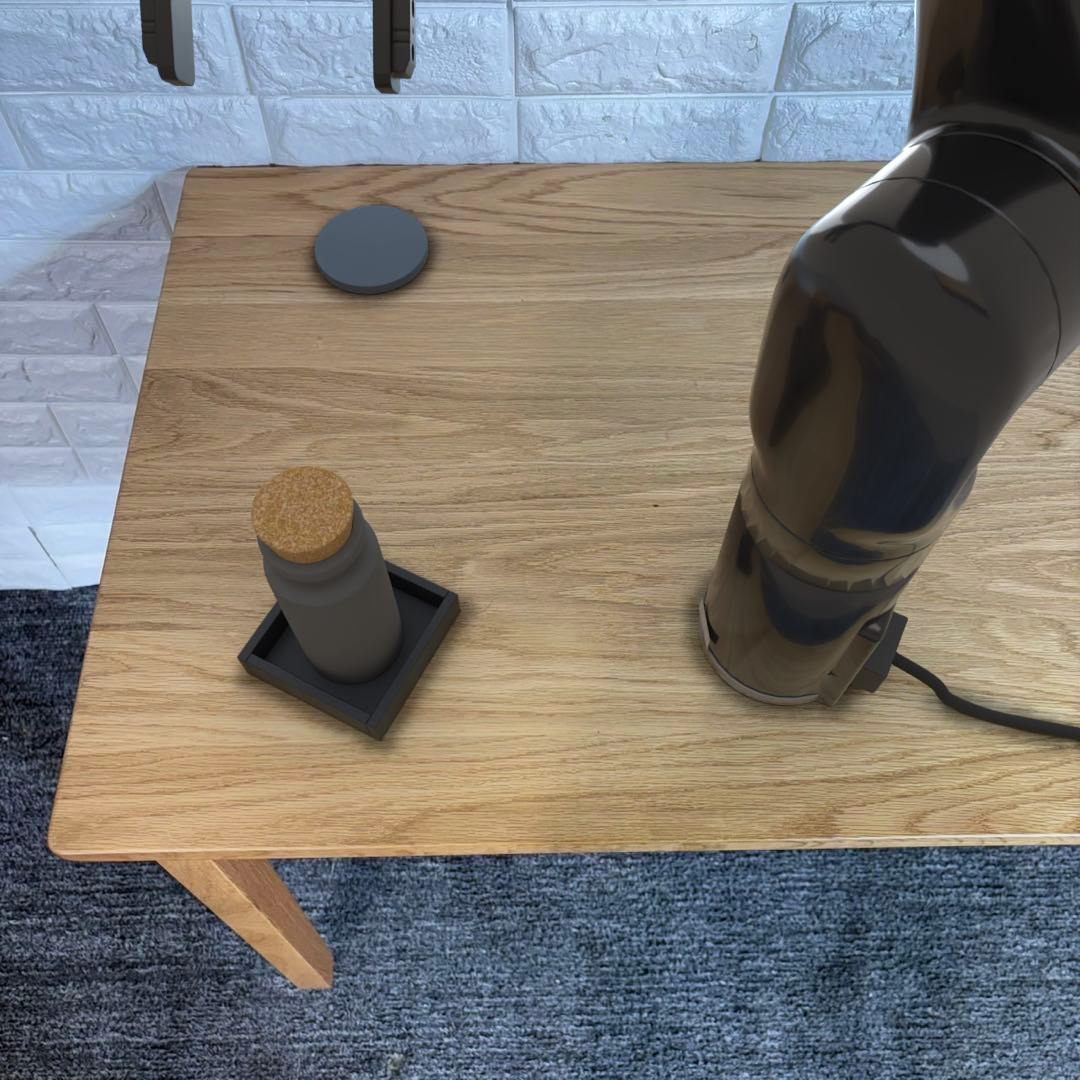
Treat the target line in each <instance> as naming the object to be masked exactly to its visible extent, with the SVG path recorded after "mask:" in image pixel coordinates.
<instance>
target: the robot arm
mask: <svg viewBox="0 0 1080 1080" xmlns="http://www.w3.org/2000/svg"><path fill="white" fill-rule="evenodd" d="M192 7H193V5H192V0H139V13H140V22H141V23H140V29H141V45H142V51H143V54H144V56H145V58H146V61H147V63H148V64H149V65H151V66H154V67H155V68H157V73H158V76H159V78H160V79H161V81H163V82H165V83H168V84H169V85H172V86H173V87H174V86H175V87H194V85H195V84H196V83H195V82H196V67H195V50H194V47H195V46H194V27H193V9H192ZM416 39H417V0H372V77H373V78H372V80H373V85H374V88H375V90H376V91H378V92H379V93H380V94H381V95H400V92H401V80H402V79H403V80H411V79H412V77H413V74H414V71H415V69H416V66H417V51H416V49H417V41H416ZM913 45H914V46H913V69H912V70H913V71H912V81H911V82H912V84H911V97H910V104H909V112H908V118H907V125H906V130H905V134H904V138H903V142H902V145H901V147H900V149H899V152H898V153H897V156H896V157H894V158H893V159H892V160H891V161H889V162H888V163H887V164H886V165H884V166H883V167H882V168H880V170H878V171H877V172H875V173H874V174H873V175H872V176H871V177H870V178H868V179H867V180H866V181H865V182H863V183H862V184H861V185H860V186H859V187H857V188H856V189H855V190H854V191H853V192H851V193H850V194H848V195H847V196H846V197H845V198H844V199H843V200H841V201H840V202H839V203H838V204H837V205H835V206H833V208H832V209H830V210H829V211H828V212H827V213H825V214H824V215H823V216H821V217H820V218H819V219H818V220H817V221H815V222H814V223H813V224H812V225H811V226H810V227H809V228H808V229H807V230H806V231H805V232H804V233H803V235H802V236H801V237H800V238H799V240H798V241H797V242H796V243H795V245H794V246H793V248H792V250H791V251H790V254H789V255H788V257H787V259H786V260H785V263H784V264H783V267H782V269H781V270H780V273H779V276H778V279H777V281H776V284H775V287H774V290H773V293H772V295H771V300H770V302H769V303H770V304H769V307H768V310H767V315H766V319H765V322H764V323H765V324H764V328H763V332H762V337H761V340H760V346H759V349H758V350H759V351H758V355H757V360H756V365H755V370H754V374H753V379H752V382H751V389H750V393H749V400H748V402H749V403H748V416H749V417H748V419H749V427H750V431H751V436H752V439H753V445H752V447H751V450H750V451H751V452H750V453H749V458H748V460H747V464H746V467H745V470H744V473H743V476H742V480H741V483H740V486H739V489H738V492H737V495H736V498H735V502H734V504H733V508H732V510H731V514H730V518H729V520H728V524H727V527H726V530H725V532H724V536H723V540H722V542H721V546H720V549H719V551H718V555H717V558H716V562H715V565H714V568H713V570H712V574H711V576H710V577H711V578H710V581H709V583H708V586H707V588H706V589H705V593H704V595H703V596H702V598H701V599H700V602H699V605H698V609H699V611H698V617H697V632H698V638H699V643H700V646H701V648H702V649H701V650H702V651H703V653H704V655H705V657H706V660H707V661H708V663H709V665H710V666H711V667H712V669H713V670H714V671H715V673H716V674H717V675H718V676H719V677H720V678H721V679H722V680H723V681H724V682H725V683H726V684H728V685H729V686H730V687H732V688H733V689H734V690H736V691H737V692H739V693H741V694H743V695H745V696H746V697H749V698H751V699H753V700H755V701H759V702H761V703H766V704H771V705H778V706H797V705H804V704H807V703H810V702H814V701H815V702H818V703H821V704H824V705H826V706H829V707H835V705H836V704H838V702H839V700H840V698H841V697H842V696H843V694H844V693H845V692H846V690H847V689H848V688H849V686H850V685H852V686H854V687H856V688H858V689H861V690H863V691H865V692H867V693H869V694H873V695H874V694H875V693H876V691H878V690H879V688H880V687H881V685H882V684H883V683H884V682H885V681H886V679H887V678H888V676H889V673H890V670H891V668H892V666H893V667H896V668H897V669H899V670H901V671H903V672H904V673H906V674H908V675H909V676H911V677H913V678H915V679H917V680H918V681H919V682H921V683H922V684H924V685H925V686H927V687H928V688H929V689H931V690H932V691H933V692H934V694H935V695H936V697H937V699H938V700H939V701H940V702H941V704H943V705H945V706H947V707H949V708H951V709H953V710H955V711H957V712H959V713H962V714H964V715H966V716H969V717H972V718H975V719H978V720H980V721H981V720H982V721H985V722H989V723H991V724H995V725H999V726H1003V727H1006V728H1007V727H1008V728H1012V729H1015V730H1022V731H1026V732H1033V733H1037V734H1042V735H1047V736H1053V737H1058V738H1064V739H1067V740H1073V741H1079V742H1080V726H1074V725H1069V724H1065V723H1058V722H1053V721H1047V720H1042V719H1037V718H1032V717H1026V716H1020V715H1017V714H1011V713H1008V712H1003V711H998V710H995V709H991V708H988V707H984V706H982V705H979V704H976V703H974V702H971V701H968V700H966V699H963V698H962V697H960V696H957V695H955V694H953V693H952V692H950V690H949V688H948V687H947V685H946V684H945V683H944V681H942V679H940V678H939V677H938V676H937V675H935V674H934V673H933V672H931V671H930V670H928V669H927V668H925V667H923V666H921V665H920V664H918V663H917V662H915V661H913V660H911V659H910V658H908V657H906V656H904V655H903V654H901V653H899V652H898V648H899V645H900V643H901V640H902V638H903V635H904V632H905V629H906V626H907V624H908V621H909V617H908V616H906V615H903V614H901V613H898V612H897V611H895V608H896V605H897V603H898V600H899V598H900V597H901V595H902V594H903V592H904V591H905V590H906V588H907V587H908V585H909V584H910V582H911V580H912V579H913V578H914V576H915V575H916V573H917V572H918V570H919V569H920V568H921V566H922V565H923V563H924V562H925V560H926V559H927V558H928V556H929V555H930V553H931V551H932V550H933V548H934V547H935V546H936V544H937V543H938V541H939V540H940V539H941V537H942V536H943V534H944V533H945V531H946V530H947V529H948V528H949V527H950V525H951V524H952V522H953V521H954V520H955V518H956V517H957V515H958V514H959V512H960V511H961V510H962V508H963V507H964V505H965V504H966V503H967V501H968V499H969V497H970V495H971V492H972V491H973V489H974V486H975V483H976V479H977V475H978V467H979V464H980V463H981V461H982V459H983V458H984V456H985V455H986V454H987V452H988V451H989V449H990V448H991V446H993V443H994V442H995V441H996V439H997V438H998V436H999V435H1000V434H1001V432H1002V431H1003V429H1005V427H1006V425H1007V424H1008V423H1009V422H1010V420H1011V419H1012V418H1013V416H1014V415H1015V414H1016V413H1017V412H1018V410H1019V409H1020V408H1021V407H1022V406H1023V405H1024V404H1025V403H1026V402H1027V400H1028V399H1029V398H1030V397H1031V396H1032V395H1033V394H1034V393H1035V392H1036V391H1037V390H1038V389H1039V388H1040V387H1041V386H1042V385H1043V384H1044V383H1045V382H1046V381H1047V380H1048V379H1049V377H1051V376H1052V375H1053V374H1054V373H1055V371H1056V370H1057V369H1059V368H1060V367H1061V365H1063V363H1064V362H1065V361H1066V360H1067V359H1068V358H1069V357H1070V356H1071V355H1072V354H1073V353H1074V352H1075V351H1076V350H1077V349H1078V348H1079V346H1080V0H914V43H913Z"/></svg>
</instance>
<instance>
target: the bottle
mask: <svg viewBox="0 0 1080 1080" xmlns="http://www.w3.org/2000/svg"><path fill="white" fill-rule="evenodd" d="M250 519H251V524H252V527H253V529H254V532H255V534H256V541H257V545H258V548H259V551H260V553H261V555H262V567H263V573H264V575H265V578H266V581H267V584H268V585H269V588H270V590H271V592H272V593H273V596H274V597H275V599H276V602H277V601H278V603H279V605H280V607H281V609H282V611H283V613H284V615H285V617H286V619H287V621H288V623H289V625H290V627H291V628H292V630H293V632H294V634H295V636H296V638H297V640H298V642H299V643H300V645H301V647H302V649H303V651H304V653H305V655H306V657H307V658H308V660H309V661H310V663H311V665H312V666H313V667H314V669H315V670H316V671H317V672H319V673H320V674H321V675H322V676H324V677H325V678H327V679H329V680H331V681H334V682H337V683H341V684H359V683H364V682H367V681H370V680H372V679H374V678H376V677H378V676H380V675H381V674H382V673H384V672H385V671H386V670H387V669H388V668H390V667H391V665H392V664H393V663H394V661H395V660H396V659H397V657H398V655H399V653H400V650H401V647H402V643H403V627H402V622H401V618H400V614H399V611H398V607H397V603H396V600H395V596H394V593H393V589H392V586H391V582H390V579H389V575H388V572H387V569H386V565H385V562H384V560H385V559H384V556H383V552H382V548H381V545H380V542H379V540H378V537H377V535H376V532H375V531H374V529H373V527H372V526H371V524H370V522H368V521H367V520H366V519H365V517H364V515H363V512H362V509H361V507H360V505H359V504H358V502H357V501H356V499H355V498H354V497H353V493H352V491H351V488H350V487H349V485H348V483H347V482H346V481H345V480H344V479H343V478H342V477H341V476H340V474H339V475H338V474H337V473H336V472H335V471H332V470H331V469H328V468H325V467H323V466H318V465H299V466H295V467H294V466H293V467H291V468H287V469H284V470H282V471H280V472H279V473H276V474H275V475H273V476H272V477H270V478H269V479H268V480H267V481H266V482H264V484H263V485H262V486H261V487H260V488H259V489H258V491H257V492H256V495H255V496H254V498H253V501H252V504H251V509H250Z"/></svg>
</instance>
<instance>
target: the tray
mask: <svg viewBox="0 0 1080 1080" xmlns="http://www.w3.org/2000/svg"><path fill="white" fill-rule="evenodd" d="M384 562H385V565H386V569H387V572H388V575H389V579H390V582H391V586H392V589H393V593H394V596H395V600H396V603H397V607H398V611H399V614H400V618H401V622H402V627H403V643H402V647H401V650H400V653H399V655H398V657H397V659H396V660H395V661H394V663H393V664H392V665H391V667H390V668H388V669H387V670H386V671H385V672H384V673H382V674H381V675H380V676H378V677H376V678H374V679H372V680H370V681H367V682H364V683H359V684H341V683H337V682H334V681H331V680H329V679H327V678H325V677H324V676H322V675H321V674H320V673H319V672H317V671H316V670H315V669H314V667H313V666H312V665H311V663H310V661H309V660H308V658H307V657H306V655H305V653H304V651H303V649H302V647H301V645H300V643H299V642H298V640H297V638H296V636H295V634H294V632H293V630H292V628H291V627H290V625H289V623H288V621H287V619H286V617H285V615H284V613H283V611H282V609H281V607H280V605H279V603H278V601H277V600H276V602H275V603H274V604H273V606H272V607H271V608H270V610H269V611H268V613H267V614H266V615H265V616H264V618H263V620H262V621H261V622H260V624H259V625H258V626H257V628H256V629H255V631H254V632H253V634H252V635H251V637H250V638H249V639H248V641H246V644H245V645H243V648H242V649H241V650H240V652H239V653H238V654H237V656H236V659H237V660H238V662H240V664H241V666H242V668H243V669H244V670H245V672H246V674H249V675H251V676H253V677H254V678H257V679H258V680H260V681H262V682H264V683H266V684H268V685H270V686H272V687H274V688H276V690H279V691H281V692H283V693H284V694H287V695H288V696H291V697H293V698H295V699H297V700H299V701H300V702H303V703H304V704H307V705H308V706H310V707H312V708H314V709H316V710H318V711H320V712H322V713H324V714H326V715H327V716H330V717H331V718H333V719H336V720H337V721H338V722H339V721H340V722H341V723H343V724H345V725H347V726H348V727H351V728H353V729H354V730H356V731H358V732H360V733H362V734H364V735H366V736H368V737H370V738H372V739H374V740H376V741H378V742H380V743H382V741H383V739H384V738H385V737H386V735H387V733H388V731H389V730H390V728H391V726H392V725H393V724H394V722H395V720H396V718H397V717H398V715H399V713H400V711H401V710H402V708H403V707H404V705H405V703H406V702H407V700H408V698H409V697H410V696H411V693H413V690H414V689H415V687H416V685H417V684H418V682H419V681H420V680H421V677H422V676H423V675H424V672H425V671H426V669H427V667H428V666H429V664H430V663H431V661H432V660H433V658H434V656H435V655H436V653H437V651H438V649H439V648H440V646H441V645H442V643H443V641H444V640H445V638H446V636H447V635H448V633H449V632H450V630H451V628H452V627H453V625H454V623H455V622H456V620H457V618H458V617H459V615H460V614H461V612H462V609H461V604H460V598H459V594H458V593H456V592H454V591H452V590H449V589H447V588H445V587H444V586H441V585H440V584H437V583H435V582H433V581H431V580H428V579H426V578H424V577H423V576H420V575H418V574H416V573H414V572H412V571H410V570H408V569H405V568H403V567H401V566H399V565H397V564H395V563H393V562H390V561H389V560H386V559H384Z"/></svg>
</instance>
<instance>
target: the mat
mask: <svg viewBox="0 0 1080 1080" xmlns="http://www.w3.org/2000/svg"><path fill="white" fill-rule="evenodd" d="M317 234H318V235H317V236H316V239H315V241H314V247H313V249H314V258H315V261H316V265H317V268H318V270H319V272H320V274H321V275H322V276H323V278H324V279H325V280H326V281H328V282H329V283H330V284H331V285H333V286H334V287H336V288H338V289H341V290H343V291H346V292H349V293H354V294H360V295H373V294H375V295H377V294H381V293H382V294H383V293H387V292H391V291H394V290H396V289H398V288H401V287H403V286H405V285H407V284H408V283H409V282H411V281H412V280H413V279H415V278H416V277H417V276H418V275H419V274H420V273H421V272H422V269H424V267H425V264H426V262H427V260H428V256H429V243H428V235H427V233H426V230H425V228H424V227H423V225H422V224H421V222H420V221H419V220H418V219H417V218H416V217H414V216H413V215H412V214H410V213H409V212H407V211H404V210H402V209H401V208H397V207H393V206H389V205H379V204H378V205H376V204H373V205H371V204H370V205H362V206H357V207H353V208H350V209H348V210H346V211H343V212H340V213H339V214H337V215H336V216H334V217H333V218H331V219H330V220H328V222H326V223H325V224H324V225H323V227H322V228H321V229H320V231H319V232H318V233H317Z"/></svg>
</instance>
